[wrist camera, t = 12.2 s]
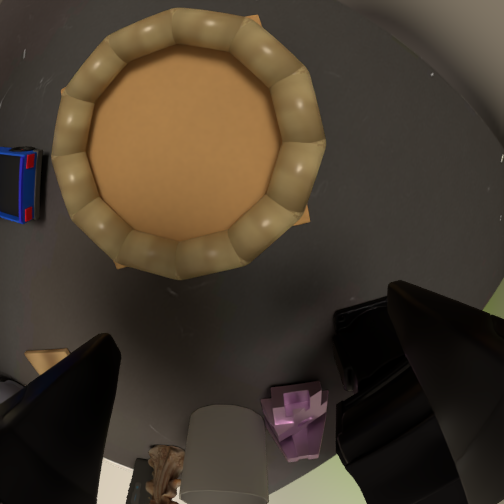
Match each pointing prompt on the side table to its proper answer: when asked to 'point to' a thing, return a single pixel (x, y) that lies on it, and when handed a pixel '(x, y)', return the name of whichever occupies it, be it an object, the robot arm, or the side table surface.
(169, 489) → the figurine
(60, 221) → the side table surface
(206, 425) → the cup
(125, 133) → the mat
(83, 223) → the segmented tan ring
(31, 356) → the ring toss peg
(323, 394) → the purple jagged faceted chunk
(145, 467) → the walkie-talkie
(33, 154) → the toy car
